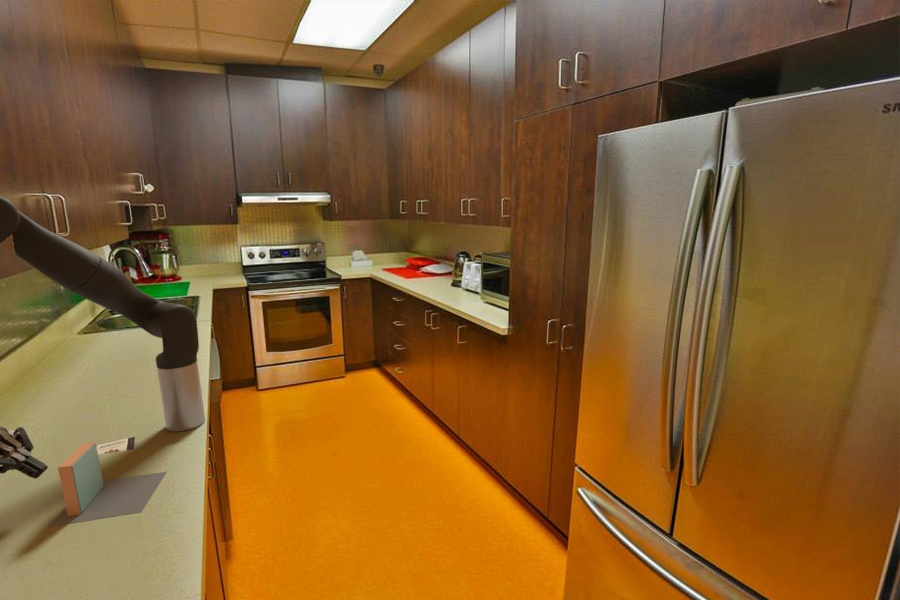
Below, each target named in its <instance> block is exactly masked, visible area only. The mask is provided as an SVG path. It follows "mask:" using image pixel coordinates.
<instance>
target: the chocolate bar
mask: <svg viewBox="0 0 900 600" xmlns="http://www.w3.org/2000/svg"><path fill="white" fill-rule="evenodd" d="M135 439H136V438H135V436H133V437H127V438H122V439H117V440H115V441H110V442H106V443H102V444H96V447H97V452H98V455H102V454H110V453H119V452H126V451H133V450H134V449H135V441H136V440H135ZM134 440H135V441H134Z"/></svg>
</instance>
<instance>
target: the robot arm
mask: <svg viewBox="0 0 900 600" xmlns="http://www.w3.org/2000/svg"><path fill="white" fill-rule="evenodd" d="M11 234H12V235H13V242H14V249H15V252H16V254H17V255H16V256H17V257H19V258H20V259H21V260H23V261H25V262H26V263H28V264H29V265H30V266H32V267H33V268H34V269H36V270H37V271H39V272H40V273H42V274H43V275H44V276H45V277H47V278H49V279H51V280H52V281H53V282H55V283H56V284H58V285H60V286H61V287H63V288H65V289H67V290H69V291H71V292H73V293H74V294H76V295H78V296H79V297H83V298H84V299H85V300H88V301H89V302H92V303H93V304H96V305H98V306H100V307H103V308H105V309H106V310H110V311H112V312H115V313H116V314H119V315H121V316H123V317H124V318H126V319H127V320H129V321H130V322H132V323H133V324H135V325H136V326H138V327H140V329H142V330H143V331H145V332H147V333H148V334H149V335H151V336H153V337H155V338H159V339H162V352H160V353H158V354H157V355H156V357H155V364H156V370H157V371H156V372H157V378H158V383H159V390H160V395H161V402H162V409H163V416H164V421H165V428H166V430H167V431H169V432H183V431H184V432H185V431H189V430H192V429H195V428H197V427H199V426H201V425H203V424H205V422H206V415H205V408H204V401H203V393H202V392H203V391H202V385H201V379H200V372H199V364H198V352H199V347H200V345H199V344H200V342H199V330H198V323H197V322H198V321H197V317H196V315H195V312H194V310H192V309H191V308H190V307H189V306H187V305H186V304H185V305H184V304H179V303H171V302H165V301H162V300H159V299H157V298H155V297H153V296H152V295H149V294H148V293H145V292H144V291H142V290H141V289H140V288H138V287H137V286H135V284H134V283H133V282H132V281H131V279H129V277H128V276H127V275H126V274H125V273H124V272H123V271H122V270H120V268H118V267H117V266H115V265H114V264H113V263H111V262H109V261H107V260H106V259H104V258H103V257H101V256H99V254H97V253H95V252H93V251H91V250H89V249H87V248H85V247H83V246H81V245H79V244H77V243H76V242H73V241H72V240H69V239H67V238H66V237H63V236H60V235H59V234H57V233H54V232H52V231H50V230H49V229H47V228H45V227H43V226H41V225H40V224H38V223H36V221H34V220H33V219H31V218H30V217H28V216H27V215H25V214H23V213H22V212H21V211H19V210H18V208H17V207H16V206H15V205H14V203H12V201H10V200H9V199H7V198H6V197H4V196H3V195H0V243H1V242H3V241H4V240H5V239H6V238H7V237H9V236H10V235H11ZM34 448H35V447H34V445H33V442H32V441H31V439H30V437H29V436H28V434H27V432H26V430H25V427H21V426H18V427H17V428H15V429H13V430H12V429H11V430H10V429H7V428H6V427H4V426H0V474H6V473H7V472H8V471H18V472H20V473H22V474H23V475H25V476H28V477H29V478H32V479H38V478H39V477H40V476H41V475H43V474H44V473H45V472H46V471H47V469H48V468H49V467H48V465H46V463H45V462H42V461H41V460H39V459H38V458H36V457H33V456H32V450H34Z"/></svg>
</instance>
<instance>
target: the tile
mask: <svg viewBox="0 0 900 600" xmlns="http://www.w3.org/2000/svg"><path fill="white" fill-rule="evenodd" d="M96 446H97V443H96V442H95V441H94V442H85V443H82V444H81V445H80V446H79V447H78V448H77V449H76V450H75V451H74V452H72V454H71V455H69V456H68V457H67V458H66V459H65V460H64V461H63V462H62V463H61V464H60V465H59V466H57V471H58V475H59V480H60V484H61V485H60V486H61V489H62V494H63V498H64V499H63V500H64V503H65V507H66V509H67V514H68V516H72V515H79V514H81V513H82V512H83V511H84V509H85V508H86V507H87V506H88V505H89V503H90V502H91V501H92V500H93V499H94V497H95V496H96V495H97V494H98V493H99V491H100V490H101V489H102V488H103V487H104V484H103V481H104V480H103V476H102V475H103V474H102V469H101V464H100V459H99V458H100V457H99V454H98V452H97V447H96Z"/></svg>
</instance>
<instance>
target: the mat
mask: <svg viewBox="0 0 900 600" xmlns="http://www.w3.org/2000/svg"><path fill="white" fill-rule="evenodd" d="M167 472H168V471H162V472H161V471H160V472H154V473H147V474H141V475H134V476H133V475H132V476H126V477H121V478H120V477H119V478H112V479H105V480H103V484H104V487H103V488H102V489H101V490H100V491H99V493H98V494H97V495H96V496H95V497H94V499H93V500H92V501H91V502H90V503H89V505H88V506H87V507H86V508H85V509H84V511H83V512H82V513H81V514H79V515H72V516H68V514H67V509H66V506H64V508H63V509H62V510H61V511H60V512H59V513H58V514H57V516H56V517H55V518H54V519H52V521H51V522H50V523H49V524H48V526H47V528H50V527H58V526H63V525H70V524H77V523H82V522H88V521H95V520H101V519H107V518H108V519H109V518H116V517H120V516H127V515H132V514H133V515H134V514H139V513H142V512H143V510H144V509H145V507H146V506H147V504H148V502H149V500H151V498H152V496H153V495H154V494H155V492H156V490H157V488H158V487H159V485H160V484H161V483H162V480H163V479H164V477H165V475H166V474H167Z"/></svg>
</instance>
